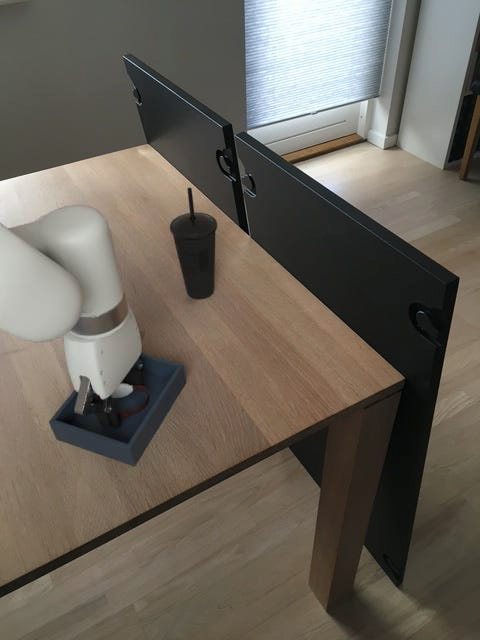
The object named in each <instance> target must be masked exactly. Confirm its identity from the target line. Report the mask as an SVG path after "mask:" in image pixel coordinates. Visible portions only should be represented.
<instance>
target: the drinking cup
mask: <svg viewBox="0 0 480 640" xmlns="http://www.w3.org/2000/svg"><path fill="white" fill-rule="evenodd" d="M186 191H187V198H188V207H189V212H188V213H183V214H180V215H178V216H176V217H175V218H174V219H172V221H171V222H170V224H169V231H170V233H171V235H172V238H173V242H174V245H175V249H176V253H177V258H178V261H179V262H178V263H179V266H180V269H181V270H180V271H181V274H182V277H183V282H184V286H185V290H186V294H187V296H188V297H189V298H191V299H193V300H206V299H208V298H210V297H211V296H212V295H213V294H214V292H215V274H216V273H215V271H216V270H215V269H216V236H217V235H216V233H217V229H218V221H217V220H216V218H215V217H214V216H212V215H211V214H208V213H205V212H199V211H198V212H196V211H195V206H194V197H193V196H194V195H193V189H192V187H187V188H186Z"/></svg>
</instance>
